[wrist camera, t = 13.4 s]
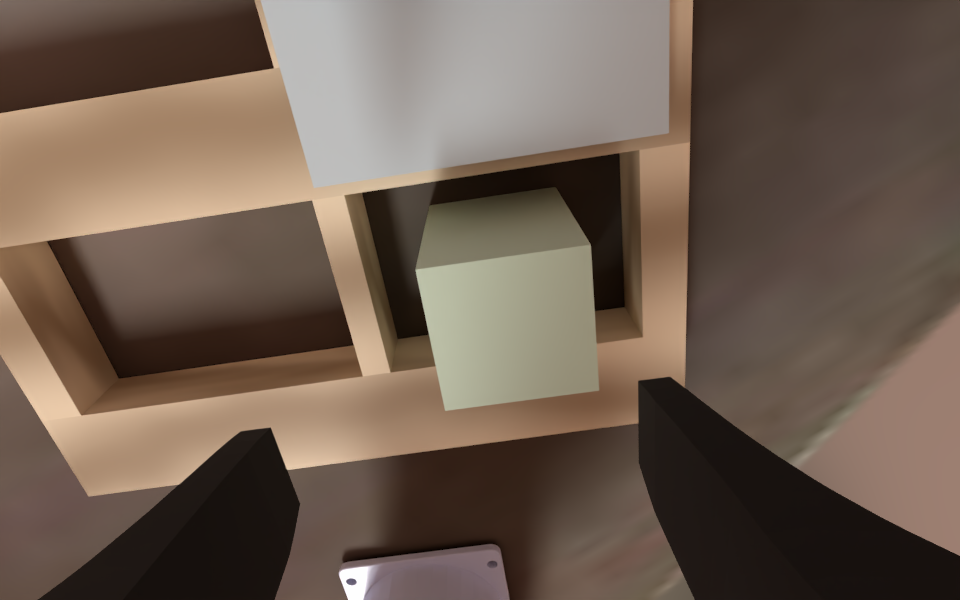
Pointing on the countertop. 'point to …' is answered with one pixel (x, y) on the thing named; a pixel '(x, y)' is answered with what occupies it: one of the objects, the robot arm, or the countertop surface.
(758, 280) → the countertop surface
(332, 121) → the lid
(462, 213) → the block
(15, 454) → the countertop surface
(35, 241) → the puzzle board
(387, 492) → the countertop surface
